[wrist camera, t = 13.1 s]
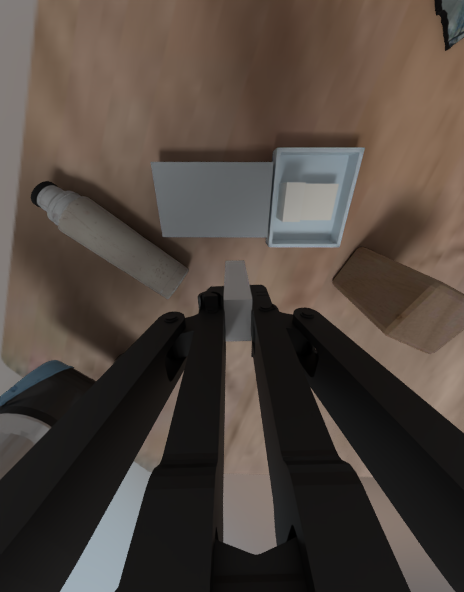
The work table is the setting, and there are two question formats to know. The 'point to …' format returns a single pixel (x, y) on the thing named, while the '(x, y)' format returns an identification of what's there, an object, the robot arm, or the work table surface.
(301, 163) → the tray
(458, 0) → the decorative slab
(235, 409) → the work table surface
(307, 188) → the tile
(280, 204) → the tile
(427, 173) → the work table surface
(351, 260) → the wooden block
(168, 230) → the board
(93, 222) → the thermos bottle
